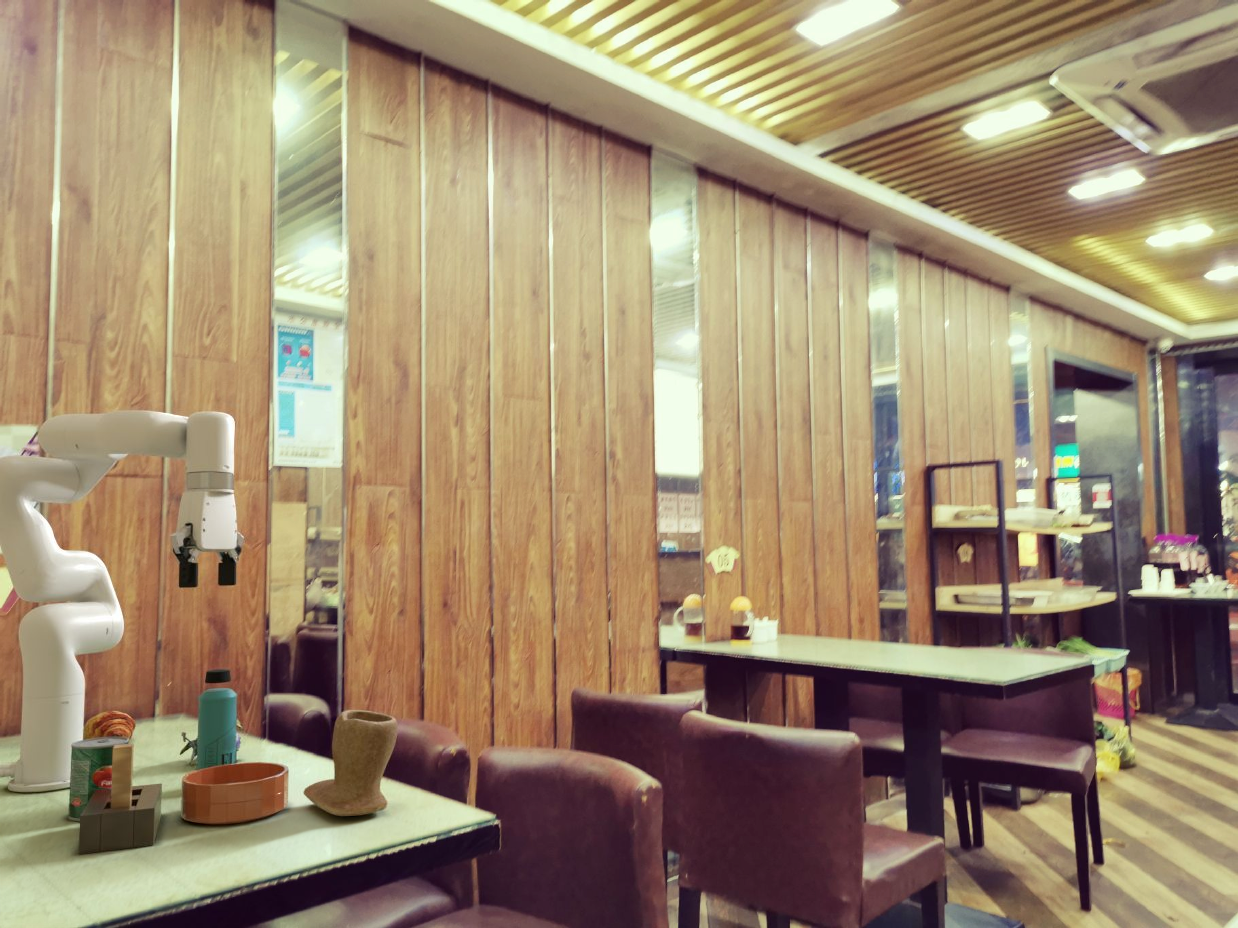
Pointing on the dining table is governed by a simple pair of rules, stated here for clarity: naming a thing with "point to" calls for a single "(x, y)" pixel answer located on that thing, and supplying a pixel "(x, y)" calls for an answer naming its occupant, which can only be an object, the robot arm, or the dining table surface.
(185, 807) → the bowl
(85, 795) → the canned tomato
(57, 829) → the dining table surface
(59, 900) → the dining table surface
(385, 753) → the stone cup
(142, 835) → the utensil stand
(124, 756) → the light brown wooden bar
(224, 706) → the beverage bottle
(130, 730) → the croissant
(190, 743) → the passion flower
